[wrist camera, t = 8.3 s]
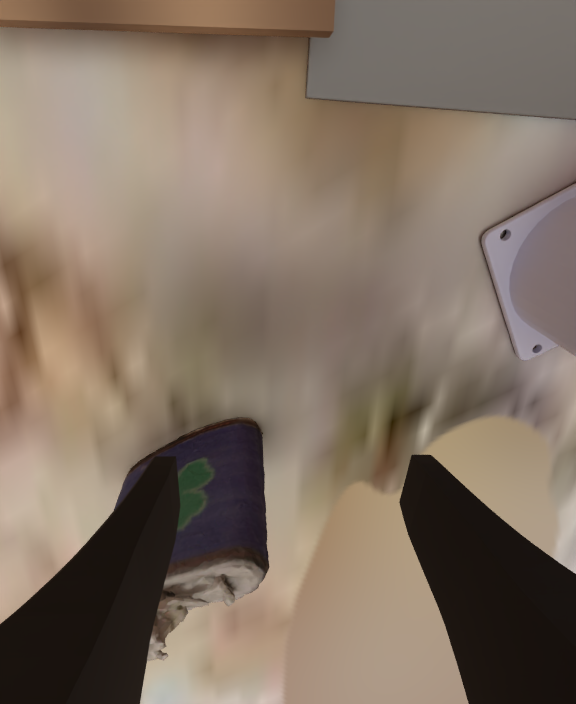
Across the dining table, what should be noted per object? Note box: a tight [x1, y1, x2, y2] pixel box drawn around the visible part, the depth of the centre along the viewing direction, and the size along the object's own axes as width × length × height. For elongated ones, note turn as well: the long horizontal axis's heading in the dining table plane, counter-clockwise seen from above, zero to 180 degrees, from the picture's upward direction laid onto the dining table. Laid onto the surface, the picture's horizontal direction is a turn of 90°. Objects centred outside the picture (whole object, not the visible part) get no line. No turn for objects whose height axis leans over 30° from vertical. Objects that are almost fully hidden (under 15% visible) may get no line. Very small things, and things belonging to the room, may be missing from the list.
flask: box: [114, 417, 269, 661], centre depth 19 cm, size 9×3×11 cm, turn 116°
